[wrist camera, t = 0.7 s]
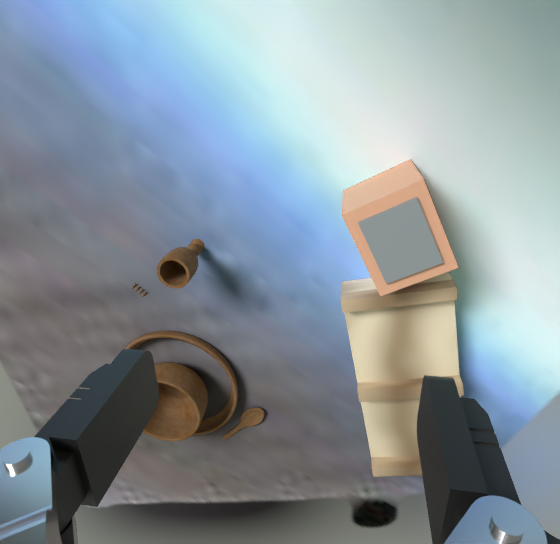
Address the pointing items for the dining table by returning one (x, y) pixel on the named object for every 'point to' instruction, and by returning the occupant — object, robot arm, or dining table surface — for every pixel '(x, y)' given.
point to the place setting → (187, 370)
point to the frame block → (397, 228)
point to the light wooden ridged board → (399, 361)
